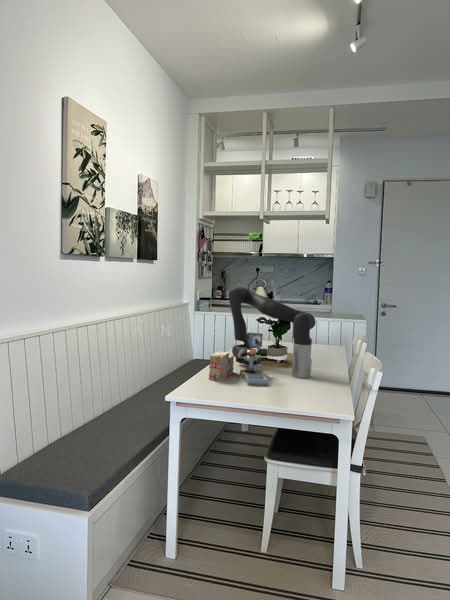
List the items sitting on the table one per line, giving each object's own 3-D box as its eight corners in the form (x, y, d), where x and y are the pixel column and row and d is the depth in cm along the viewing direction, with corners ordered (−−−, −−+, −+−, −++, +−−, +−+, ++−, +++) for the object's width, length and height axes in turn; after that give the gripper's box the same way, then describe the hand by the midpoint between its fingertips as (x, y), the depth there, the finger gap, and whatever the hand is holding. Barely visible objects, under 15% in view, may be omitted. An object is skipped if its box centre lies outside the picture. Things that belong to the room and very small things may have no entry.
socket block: (256, 375, 245) (257, 370, 245) (260, 380, 236) (260, 374, 236) (239, 375, 244) (240, 369, 244) (242, 379, 235) (242, 373, 235)
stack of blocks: (221, 371, 252) (223, 348, 252) (233, 372, 251) (234, 349, 250) (208, 379, 232) (209, 354, 231) (220, 381, 230) (222, 356, 229)
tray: (263, 380, 235) (263, 374, 235) (266, 385, 226) (267, 379, 226) (244, 380, 234) (245, 374, 234) (247, 385, 225) (248, 379, 225)
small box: (245, 348, 322) (246, 333, 321) (246, 347, 329) (247, 332, 328) (261, 350, 320) (262, 334, 320) (261, 348, 327) (262, 333, 326)
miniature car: (283, 363, 281) (284, 350, 280) (253, 360, 286) (254, 347, 286) (285, 360, 290) (286, 347, 289) (257, 357, 295) (257, 344, 294)
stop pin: (253, 376, 243) (255, 349, 242) (255, 378, 238) (256, 351, 237) (244, 376, 242) (246, 349, 241) (246, 378, 238) (247, 351, 237)
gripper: (233, 349, 253) (238, 355, 236) (259, 349, 254) (266, 356, 237) (232, 362, 253) (237, 370, 236) (258, 363, 255) (265, 371, 238)
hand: (251, 363), depth 237 cm, fingers closed on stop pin, 4 cm apart
